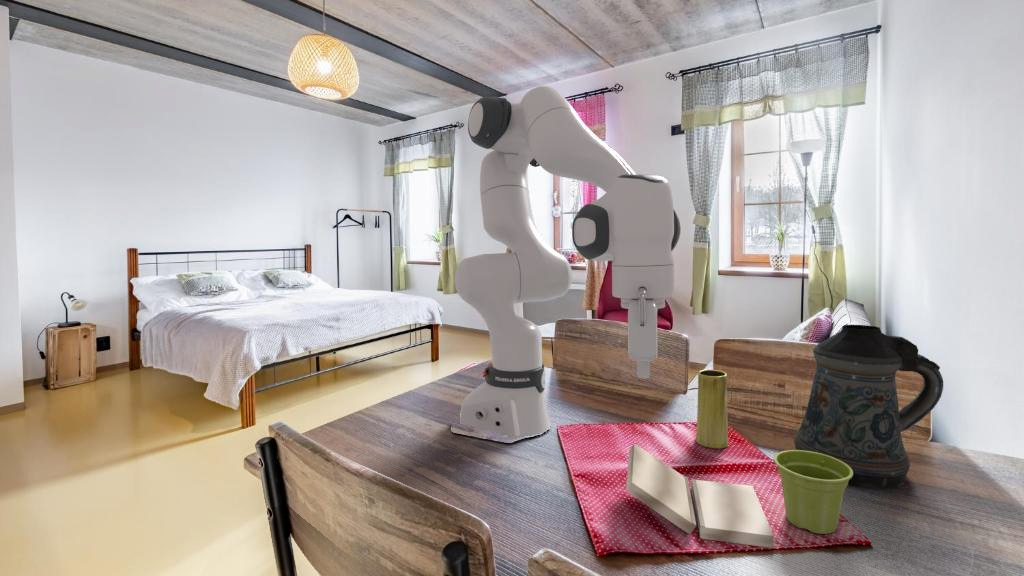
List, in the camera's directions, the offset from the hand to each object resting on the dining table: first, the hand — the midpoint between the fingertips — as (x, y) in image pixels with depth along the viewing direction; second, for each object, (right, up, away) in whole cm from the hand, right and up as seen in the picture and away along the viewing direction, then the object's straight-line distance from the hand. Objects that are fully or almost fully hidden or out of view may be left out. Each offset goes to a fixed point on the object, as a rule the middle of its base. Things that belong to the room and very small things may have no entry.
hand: (643, 375), depth 70 cm
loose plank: (+2, -18, +1) cm, 18 cm away
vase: (+20, -18, +23) cm, 36 cm away
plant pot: (+23, -21, -3) cm, 31 cm away
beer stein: (+41, -18, +12) cm, 47 cm away
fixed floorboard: (+12, -21, -1) cm, 24 cm away
